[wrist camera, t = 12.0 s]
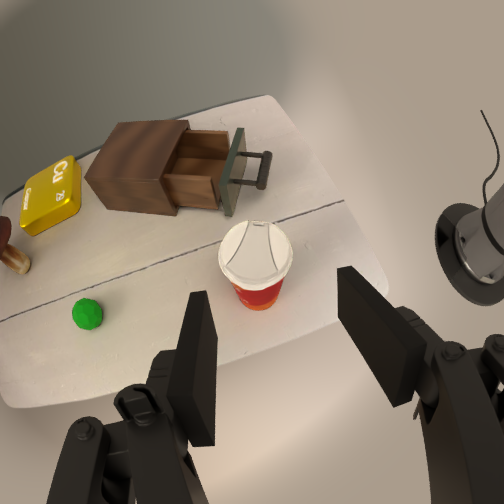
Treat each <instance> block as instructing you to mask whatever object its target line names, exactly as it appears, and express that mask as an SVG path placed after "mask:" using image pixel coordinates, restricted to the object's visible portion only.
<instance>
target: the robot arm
mask: <svg viewBox="0 0 504 504" xmlns="http://www.w3.org/2000/svg"><path fill="white" fill-rule="evenodd" d="M481 113H482V115H483V117H484V119H485V122H486V124H487V126H488V128H489V130H490V132H491V134H492V137H493V139H494V142H495V145H496V149H497V158H498V159H497V164H496V167H495V169H494V171H493V172H492V174H491V175H490V176H489V177H488V178H486V179H485V181H484V183H483V197H484V203H485V206H484V207H483V208H481V209H478V210H476V211H474V212H471V213H469V214H467V215H465V216H463V217H462V218H461V219H460V220H459V221H458V223H457V224H456V225H455V227H454V230H453V237H452V239H453V248H454V252H455V255H456V257H457V259H458V262H459V263H460V265H461V267H462V268H463V270H464V271H465V272H466V274H467V275H468V276H469V277H470V278H471V279H473V280H474V281H475V282H477V283H479V284H481V285H492V284H494V283H496V282H497V281H499V280H500V279H502V278H503V276H504V184H503V185H502V186H501V188H500V189H499V190H498V191H497V192H496V193H495V194H494V196H493V197H492V198H491V199H490V200H489V201H488V202H487V200H486V194H485V186H486V183H487V181H488V180H490V179H491V178H492V177H493V175H494V174H495V172H496V170H497V168H498V166H499V160H500V155H499V149H498V145H497V142H496V139H495V137H494V134H493V132H492V130H491V128H490V126H489V124H488V122H487V120H486V118H485V115H484V114H483V111H482V110H481ZM337 284H338V318H339V319H340V321H341V322H342V324H343V326H344V327H345V329H346V330H347V332H348V334H349V335H350V336H351V338H352V340H353V342H354V343H355V345H356V346H357V348H358V349H359V351H360V353H361V354H362V356H363V357H364V359H365V361H366V363H367V364H368V366H369V367H370V369H371V371H372V372H373V374H374V376H375V377H376V379H377V381H378V382H379V384H380V386H381V387H382V389H383V391H384V392H385V394H386V396H387V397H388V399H389V401H390V403H391V404H392V406H393V407H397V406H399V405H402V404H405V403H407V402H410V401H412V397H413V394H414V391H416V392H417V393H418V395H419V396H420V399H419V401H418V404H417V407H416V410H415V412H414V415H413V420H414V419H416V417H417V415H418V413H419V415H420V420H421V426H422V431H423V437H424V443H425V449H426V456H427V463H428V471H429V481H430V492H431V504H504V389H503V391H500V390H499V389H498V386H499V384H500V382H501V383H502V384H503V385H504V335H501V334H493V335H490V336H489V337H487V338H486V340H485V343H484V346H483V348H476V349H470V350H467V349H466V348H465V347H464V346H463V345H461V344H459V343H457V342H453V341H446V342H444V341H443V340H442V339H441V338H440V337H439V336H438V335H437V334H436V333H435V332H434V331H433V330H432V329H431V328H430V327H429V326H428V325H427V324H425V322H424V321H423V320H422V319H420V317H419V316H418V315H417V314H416V313H415V312H414V311H412V310H410V309H408V308H406V307H404V306H401V307H397V308H394V307H393V306H392V305H391V304H390V303H389V302H388V301H387V300H386V299H385V298H384V297H383V296H382V295H381V294H380V293H379V292H378V291H377V290H376V289H375V288H374V287H373V286H372V285H371V284H370V283H369V282H368V281H367V280H366V279H365V278H364V277H363V276H362V275H361V274H360V273H359V272H358V271H357V270H356V269H354V268H353V267H352V266H347V267H342V268H337ZM217 343H218V337H217V333H216V329H215V325H214V321H213V317H212V313H211V309H210V304H209V300H208V296H207V292H206V290H204V291H198V292H191V293H190V296H189V300H188V304H187V308H186V311H185V315H184V319H183V324H182V328H181V332H180V336H179V340H178V344H177V348H176V349H174V350H163V351H160V352H159V353H158V354H157V356H156V357H155V358H154V359H153V362H152V365H151V368H150V369H151V370H150V371H149V375H148V378H147V381H146V384H133V385H130V386H128V387H125V388H124V389H122V390H121V391H120V392H119V393H118V394H117V395H116V397H115V399H114V406H115V407H116V409H117V410H118V412H119V413H120V415H121V416H122V418H123V419H124V420H123V421H120V422H116V423H111V424H106V425H103V424H102V423H101V421H100V420H98V419H97V418H95V417H90V416H89V417H83V418H80V419H78V420H76V421H75V422H74V423H73V424H72V425H71V427H70V428H69V430H68V433H67V436H66V439H65V442H64V445H63V448H62V451H61V454H60V457H59V460H58V463H57V467H56V470H55V473H54V477H53V481H52V484H51V488H50V491H49V495H48V499H47V503H46V504H135V499H136V501H137V504H209V503H208V500H207V498H206V495H205V493H204V490H203V488H202V485H201V482H200V480H199V477H198V474H197V472H196V469H195V466H194V463H193V460H192V457H191V455H190V454H189V452H188V450H187V449H188V439H189V441H190V443H191V445H192V446H193V447H204V446H215V404H216V370H217Z"/></svg>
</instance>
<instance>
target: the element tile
mask: <svg viewBox="0 0 504 504" xmlns="http://www.w3.org/2000/svg"><path fill="white" fill-rule="evenodd" d="M80 206H81V167H80V166H79V164H78V163H77V161H76V160H75V158H74V157H73V156H67V157H66V158H63V159H62V160H60V161H58V162H56V163H55V164H53V165H51V166H49V167H48V168H46V169H44V170H43V171H41V172H39V173H37V174H36V175H34V176H33V177H31V178H30V179H29V180H28V181H27V183H26V185H25V188H24V194H23V200H22V206H21V213H20V221H19V224H20V227H21V228H22V229H24V230H25V231H26V232H27V233H28V234H29V235H31V236H35V235H37V234H39V233H40V232H42V231H44V230H46V229H48V228H50V227H52V226H53V225H55V224H57V223H59V222H61V221H63V220H65V219H67V218H69V217H71V216H73V215H74V214H76V213H77V212H78V210H79V209H80Z"/></svg>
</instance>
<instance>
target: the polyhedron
mask: <svg viewBox="0 0 504 504" xmlns="http://www.w3.org/2000/svg"><path fill="white" fill-rule="evenodd" d="M72 316H73V320H74V321H75V323H76V324H77V325H78V327H79V328H82V329H86V330H92V329H94V328H96V327H97V326H99V325H100V323H101V321H102V309H101V308H100V306H99V305H98V304H97V302H96V301H95V300H91V299H86V298H83V299H81V300H79V301H77V302H76V303H75V305H74V307H73V310H72Z"/></svg>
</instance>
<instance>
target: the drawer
mask: <svg viewBox="0 0 504 504" xmlns="http://www.w3.org/2000/svg"><path fill="white" fill-rule="evenodd" d="M247 157H255V158H262V159H261V163H260V168H259V172H258V177H257V181H252V180H242V178H243V174H244V170H245V167H246V163H247ZM271 160H272V153H271V152H270V151H264V152H263V154H262V153H253V152H246V141H245V130H244V128H237V130H236V133H235V136H234V139H233V142H232V145H231V148H230V142H229V135H228V131H210V130H185V132H184V134H183V136H182V138H181V140H180V142H179V144H178V147H177V149H176V151H175V153H174V155H173V157H172V159H171V161H170V163H169V165H168V168H167V170H166V172H165V174H164V176H163V181H164V184H165V186H166V188H167V190H168V193H169V195H170V197H171V199H172V201H173V204H174V205H179V206H189V207H199V208H208V209H218V206H219V203H220V200H221V199H222V203H223V208H224V212H225V216H231V217H232V216H233V213H234V209H235V205H236V201H237V197H238V193H239V189H240V185H249V186H256V188H257V189H259V190H264V189H266V186H267V181H268V176H269V170H270V165H271Z"/></svg>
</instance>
